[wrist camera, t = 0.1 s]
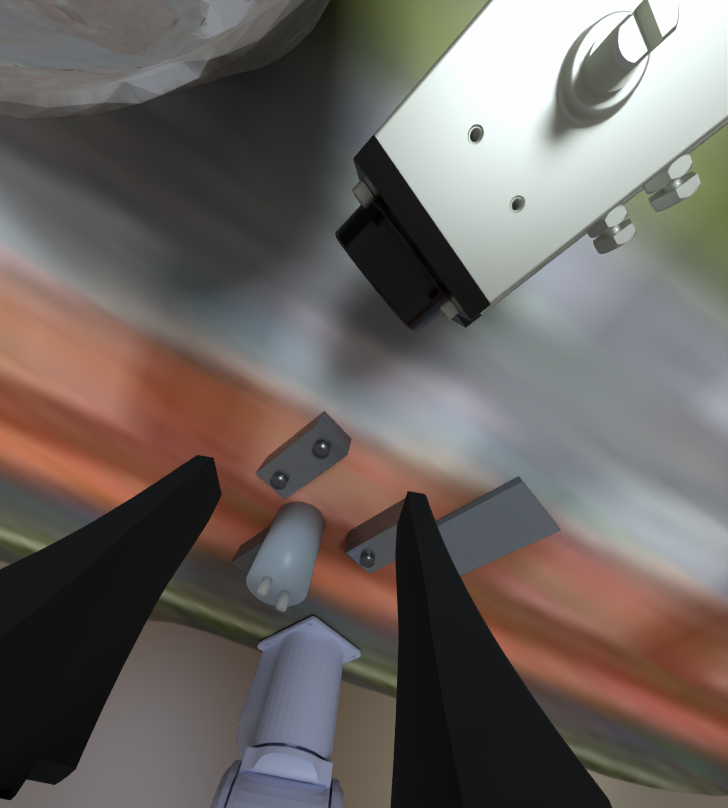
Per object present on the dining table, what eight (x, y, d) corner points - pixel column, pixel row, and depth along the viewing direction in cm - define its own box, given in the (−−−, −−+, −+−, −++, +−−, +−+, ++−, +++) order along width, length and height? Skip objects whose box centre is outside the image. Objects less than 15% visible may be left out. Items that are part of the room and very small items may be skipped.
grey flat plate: (443, 576, 27) (445, 582, 26) (404, 538, 25) (404, 543, 25) (556, 524, 23) (560, 530, 23) (519, 476, 22) (522, 481, 21)
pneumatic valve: (356, 252, 17) (293, 196, 6) (544, 61, 13) (1360, -1103, 2) (413, 325, 18) (452, 392, 7) (599, 171, 14) (1270, -187, 3)
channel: (371, 551, 26) (369, 577, 24) (267, 456, 23) (253, 476, 21) (429, 519, 24) (433, 545, 22) (324, 411, 21) (316, 427, 19)
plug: (266, 567, 28) (231, 650, 22) (233, 540, 27) (185, 620, 21) (335, 525, 25) (317, 607, 19) (300, 493, 24) (268, 569, 18)
